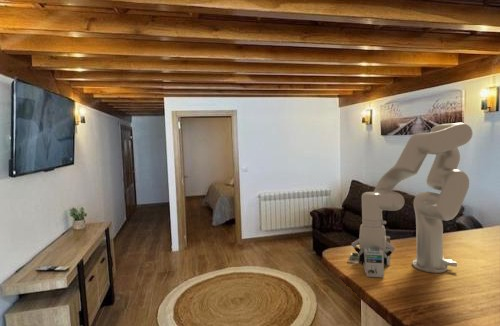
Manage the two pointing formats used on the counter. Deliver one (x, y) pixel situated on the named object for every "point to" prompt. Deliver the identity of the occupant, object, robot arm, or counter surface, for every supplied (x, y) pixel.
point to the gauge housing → (358, 254)
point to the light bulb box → (374, 262)
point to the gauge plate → (387, 257)
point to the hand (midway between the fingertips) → (373, 264)
